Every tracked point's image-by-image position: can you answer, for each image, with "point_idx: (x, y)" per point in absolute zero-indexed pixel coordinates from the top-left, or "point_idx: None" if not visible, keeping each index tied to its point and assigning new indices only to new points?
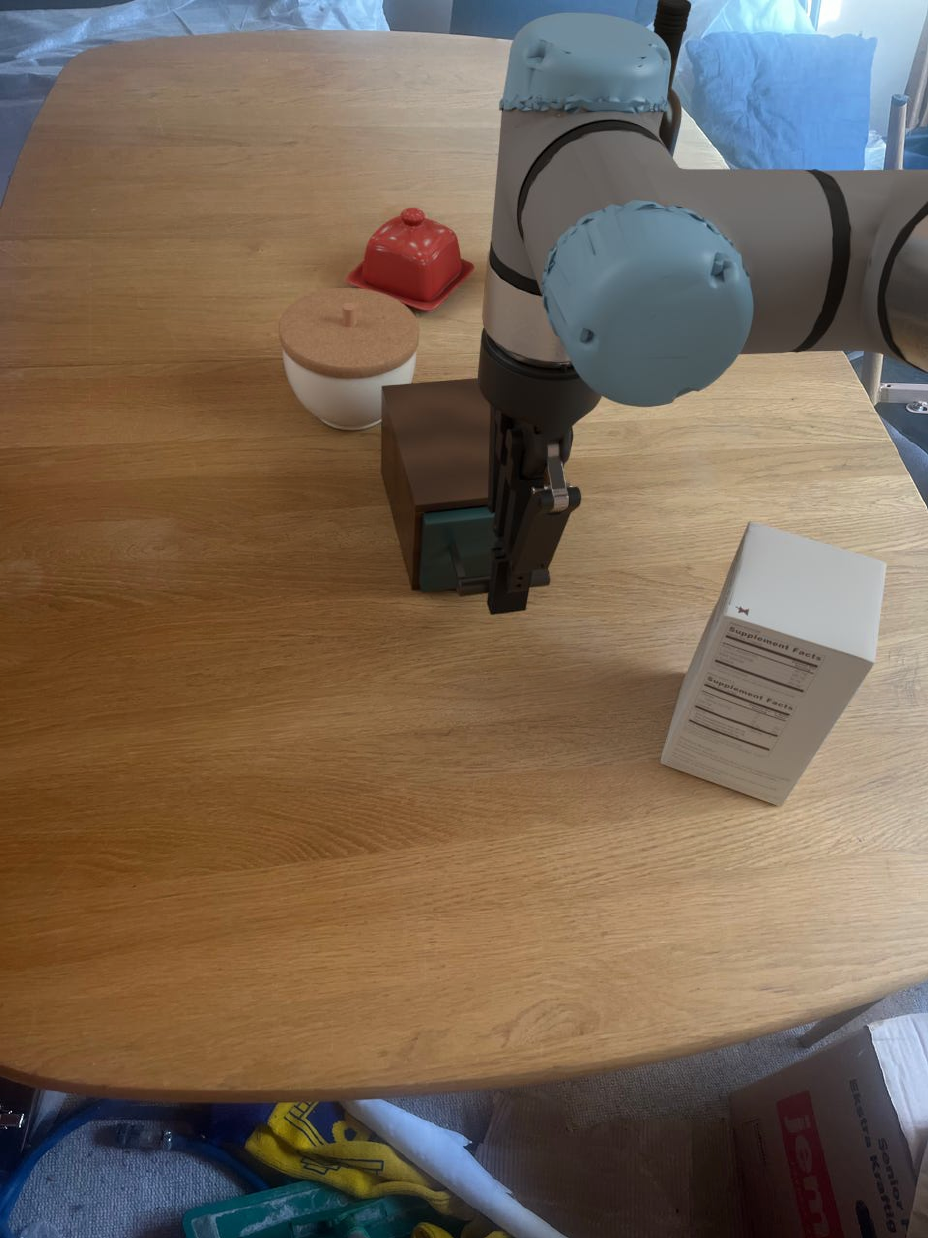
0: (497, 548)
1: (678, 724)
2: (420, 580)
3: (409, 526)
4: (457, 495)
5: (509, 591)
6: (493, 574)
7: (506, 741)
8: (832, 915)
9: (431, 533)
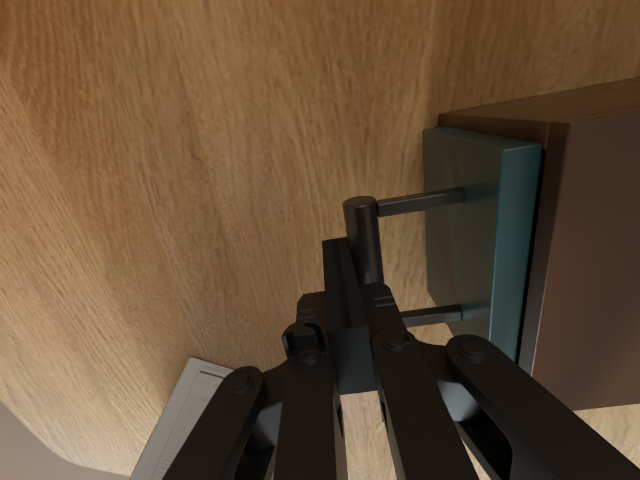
0: (324, 342)
1: (160, 418)
2: (441, 128)
3: (539, 109)
4: (570, 235)
5: (300, 300)
6: (340, 279)
7: (194, 224)
8: (84, 432)
9: (484, 159)
